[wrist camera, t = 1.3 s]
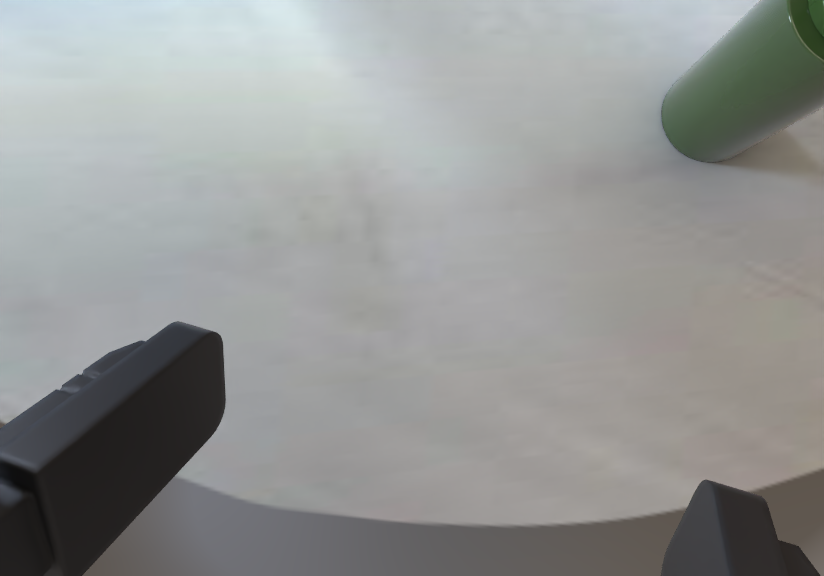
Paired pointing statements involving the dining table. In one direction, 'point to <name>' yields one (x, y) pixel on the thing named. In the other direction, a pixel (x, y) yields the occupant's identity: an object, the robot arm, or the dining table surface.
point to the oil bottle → (750, 82)
